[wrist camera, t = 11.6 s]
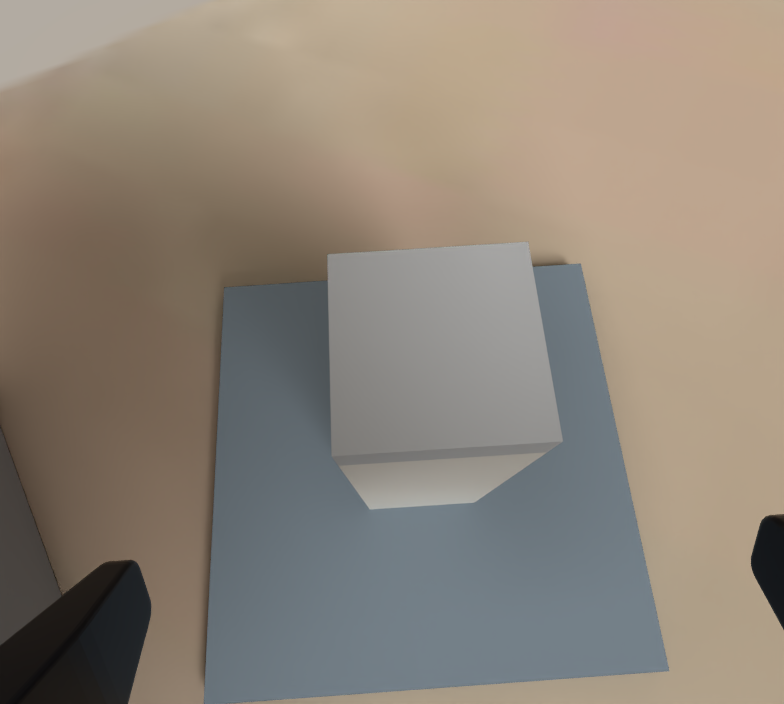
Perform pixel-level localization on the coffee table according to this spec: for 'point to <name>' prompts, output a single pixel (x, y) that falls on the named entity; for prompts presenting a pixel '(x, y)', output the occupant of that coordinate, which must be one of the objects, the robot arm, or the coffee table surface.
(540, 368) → the plug
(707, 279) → the coffee table surface
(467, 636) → the mat
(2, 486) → the socket block
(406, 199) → the coffee table surface
